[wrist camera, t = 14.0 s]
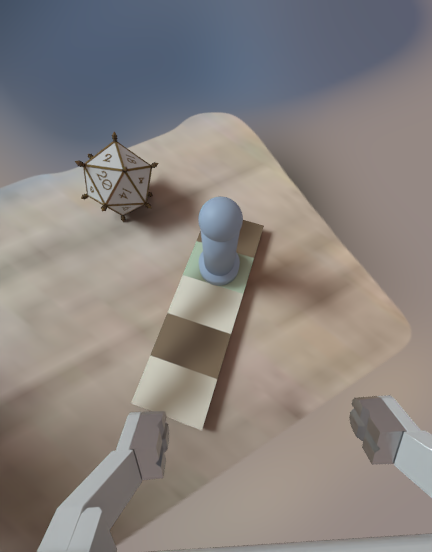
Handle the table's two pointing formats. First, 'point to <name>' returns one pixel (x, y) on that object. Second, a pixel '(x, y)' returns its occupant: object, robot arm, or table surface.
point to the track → (195, 338)
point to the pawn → (219, 240)
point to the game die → (117, 179)
